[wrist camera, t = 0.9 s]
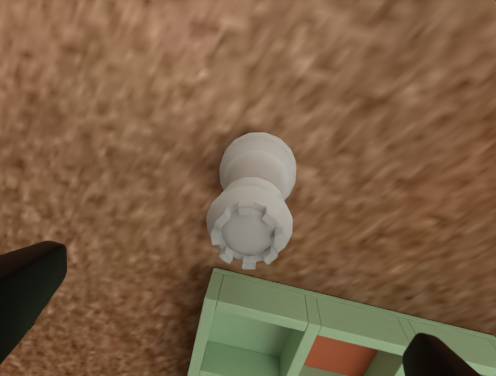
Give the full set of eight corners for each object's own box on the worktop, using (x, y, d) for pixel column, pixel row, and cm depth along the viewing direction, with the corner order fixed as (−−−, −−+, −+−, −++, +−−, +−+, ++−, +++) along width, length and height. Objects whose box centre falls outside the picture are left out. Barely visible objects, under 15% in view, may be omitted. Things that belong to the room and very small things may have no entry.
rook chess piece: (267, 114, 16) (262, 152, 9) (310, 176, 17) (337, 255, 10) (206, 158, 17) (157, 223, 10) (250, 213, 19) (234, 308, 11)
